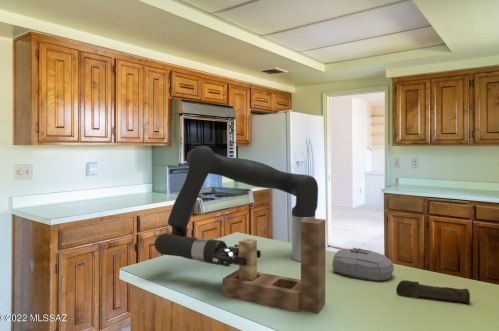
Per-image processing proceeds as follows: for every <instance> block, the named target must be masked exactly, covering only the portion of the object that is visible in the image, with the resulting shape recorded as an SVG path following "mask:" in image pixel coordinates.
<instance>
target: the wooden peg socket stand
mask: <svg viewBox="0 0 499 331" xmlns="http://www.w3.org/2000/svg"><path fill="white" fill-rule="evenodd" d="M326 222H327V220H326V219H323V218H315V219H314V218H307V219H305V220H303V221H302V222H301V261H300V278H299V279H298V278H293V277H288V276H283V275H282V276H281V275H276V274H270V273H265V272H261V271H260V272H259V271H257V279H255V280H254V281H252V282H251V281H246V280H241V279H239V268H238V269H236V270H235V271H233V272H231V273H230V274H228V275H226V276H224V277H223V278H222V296H225V297H229V298H233V299H237V300H243V301H248V302H251V303H256V304H260V305H265V306H269V307H273V308H277V309H282V310H287V311H291V312H296V313H299V312H300V311H305V312H306V311H307V312H311V313H316V314H319V313H320V312H321V311H322V310H323V308H324V307H325V306H326V249H327V248H326V246H327V245H326V244H327V243H326V242H327V241H326V239H327V238H326V234H327V232H326V228H327V227H326Z"/></svg>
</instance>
